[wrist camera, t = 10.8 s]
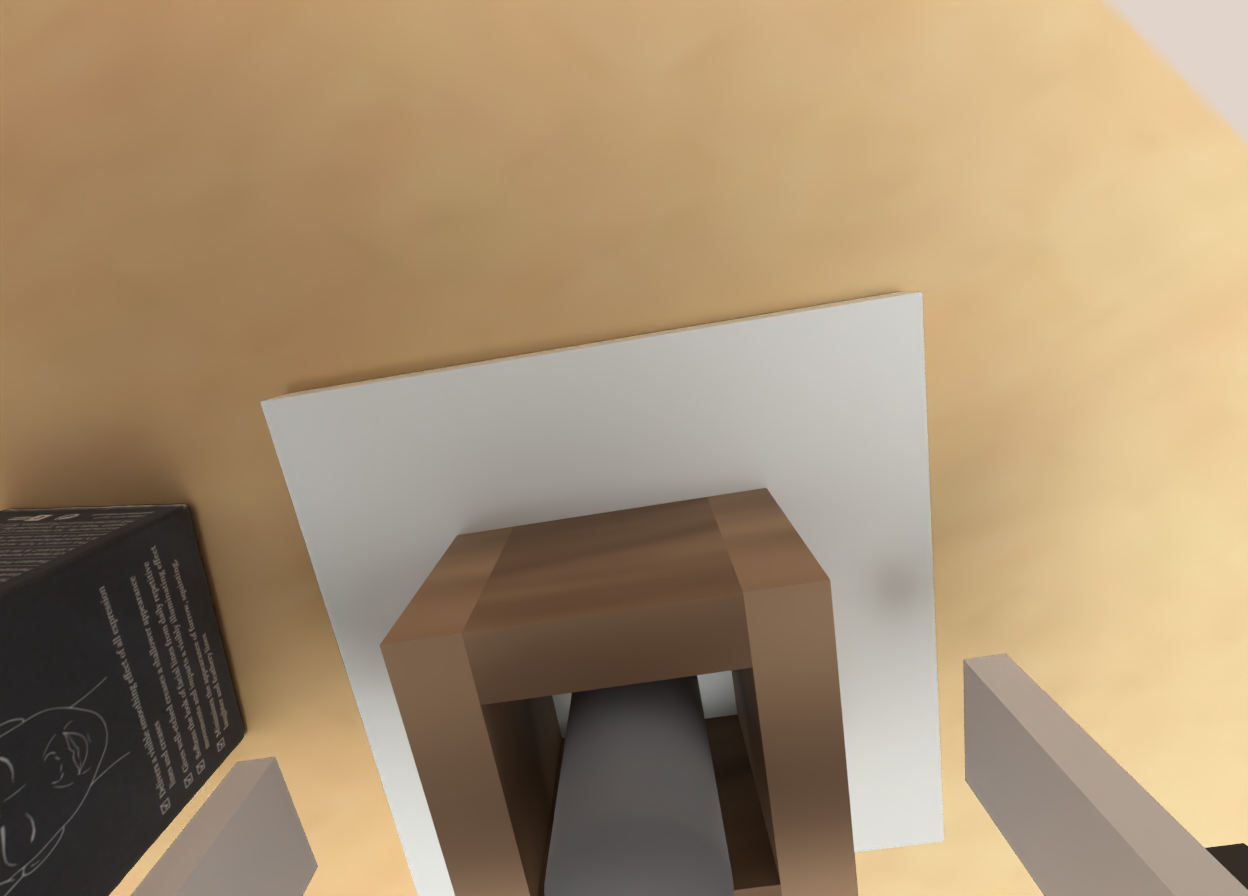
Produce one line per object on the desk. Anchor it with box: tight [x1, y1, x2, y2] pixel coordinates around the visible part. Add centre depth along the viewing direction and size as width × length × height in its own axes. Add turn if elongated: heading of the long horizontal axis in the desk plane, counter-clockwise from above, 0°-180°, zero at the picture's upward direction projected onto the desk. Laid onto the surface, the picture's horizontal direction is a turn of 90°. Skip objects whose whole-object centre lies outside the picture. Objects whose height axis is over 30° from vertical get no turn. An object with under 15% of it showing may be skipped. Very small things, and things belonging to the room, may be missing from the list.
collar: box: [380, 488, 858, 896], centre depth 14 cm, size 8×8×5 cm
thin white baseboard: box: [260, 292, 944, 896], centre depth 14 cm, size 16×16×8 cm
